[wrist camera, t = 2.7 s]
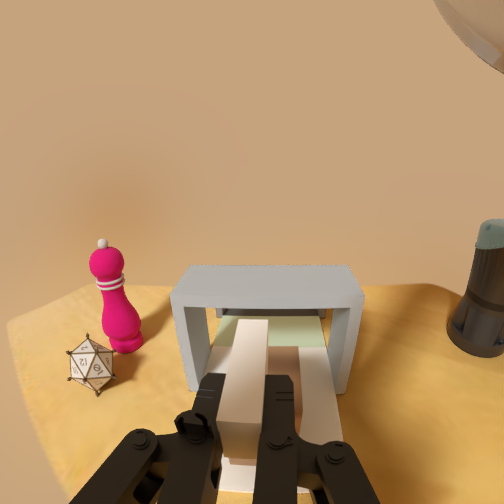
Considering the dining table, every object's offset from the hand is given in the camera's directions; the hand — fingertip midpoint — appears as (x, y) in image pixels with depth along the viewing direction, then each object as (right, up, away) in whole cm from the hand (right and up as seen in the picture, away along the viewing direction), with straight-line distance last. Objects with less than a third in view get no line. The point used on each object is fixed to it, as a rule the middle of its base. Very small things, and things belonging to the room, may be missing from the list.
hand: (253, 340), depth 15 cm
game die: (-24, -16, +22) cm, 37 cm away
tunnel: (+2, -16, +19) cm, 25 cm away
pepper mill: (-23, -12, +33) cm, 42 cm away
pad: (+3, -10, +35) cm, 37 cm away
